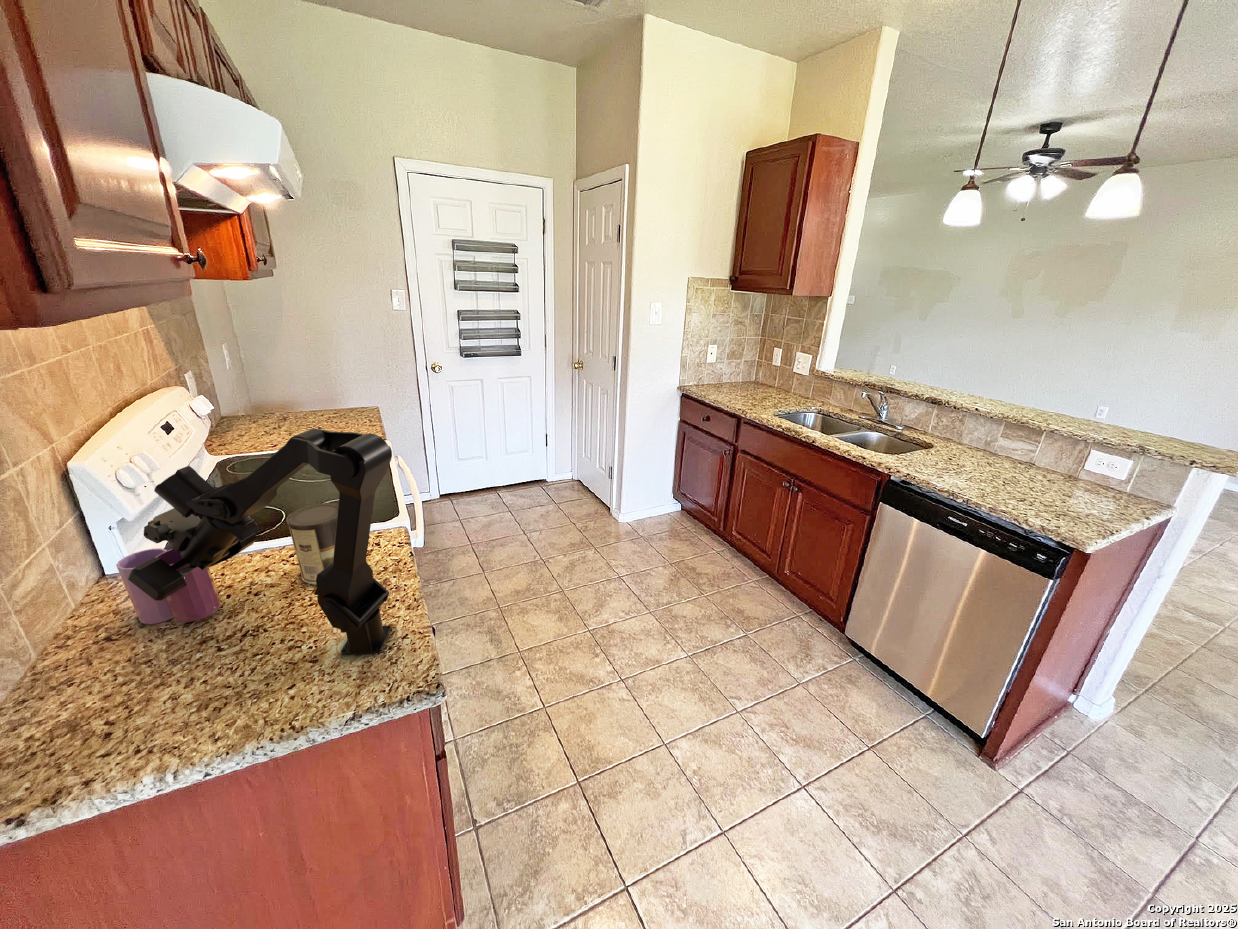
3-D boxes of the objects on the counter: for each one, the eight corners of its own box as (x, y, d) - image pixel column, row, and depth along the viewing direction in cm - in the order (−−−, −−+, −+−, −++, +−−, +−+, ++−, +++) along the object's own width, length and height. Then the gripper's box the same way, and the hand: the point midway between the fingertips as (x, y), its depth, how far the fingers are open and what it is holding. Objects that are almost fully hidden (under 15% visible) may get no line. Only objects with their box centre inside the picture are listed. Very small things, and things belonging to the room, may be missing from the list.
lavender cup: (170, 623, 90) (148, 568, 86) (129, 625, 89) (105, 570, 85) (195, 600, 96) (176, 547, 92) (157, 601, 96) (136, 549, 91)
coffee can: (357, 554, 113) (346, 499, 108) (352, 579, 104) (340, 521, 99) (305, 562, 109) (291, 506, 104) (296, 589, 100) (280, 529, 95)
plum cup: (205, 621, 88) (184, 565, 84) (164, 623, 88) (141, 566, 83) (229, 597, 95) (210, 544, 90) (190, 599, 94) (170, 545, 89)
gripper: (226, 477, 90) (192, 524, 96) (115, 526, 73) (82, 580, 79) (274, 519, 92) (238, 562, 98) (177, 576, 75) (141, 625, 81)
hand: (180, 579), depth 89 cm, fingers closed on plum cup, 7 cm apart
